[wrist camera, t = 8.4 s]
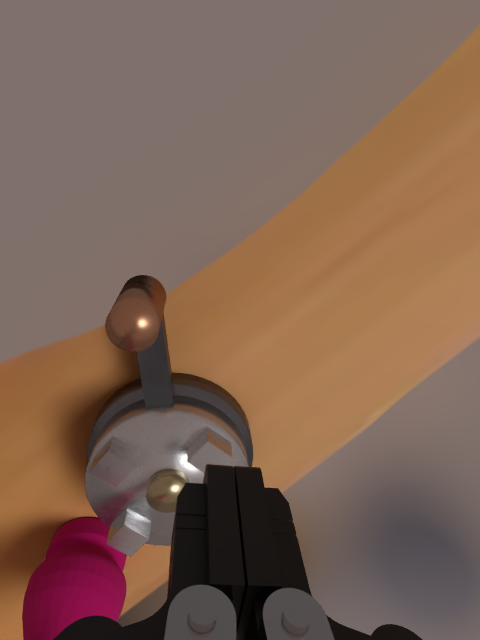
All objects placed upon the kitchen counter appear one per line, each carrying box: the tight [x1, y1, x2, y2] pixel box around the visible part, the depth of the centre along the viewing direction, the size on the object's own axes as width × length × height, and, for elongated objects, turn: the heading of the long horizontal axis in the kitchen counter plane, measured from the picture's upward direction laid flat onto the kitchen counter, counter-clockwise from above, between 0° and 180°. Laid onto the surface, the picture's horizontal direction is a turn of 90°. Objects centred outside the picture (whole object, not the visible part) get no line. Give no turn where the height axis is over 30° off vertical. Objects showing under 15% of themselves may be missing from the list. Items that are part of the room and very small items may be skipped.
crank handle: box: [85, 275, 248, 557], centre depth 28 cm, size 20×11×6 cm, turn 3°
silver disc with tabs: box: [87, 373, 253, 467], centre depth 33 cm, size 12×12×2 cm
